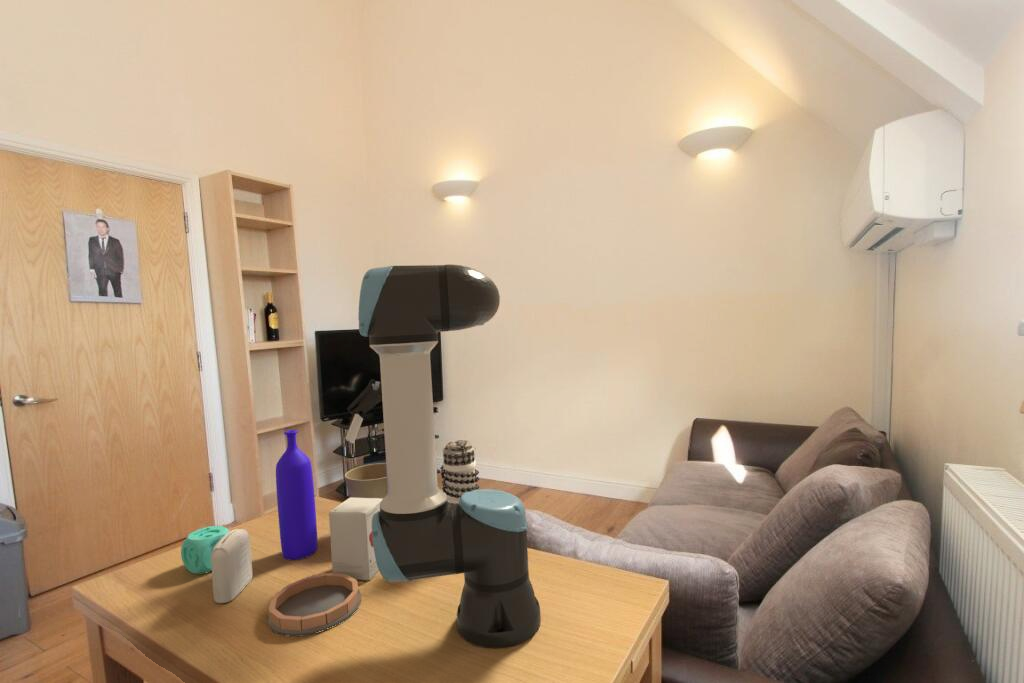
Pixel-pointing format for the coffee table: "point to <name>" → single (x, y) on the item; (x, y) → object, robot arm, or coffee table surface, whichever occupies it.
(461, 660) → the coffee table surface
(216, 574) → the photo printer
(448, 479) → the decorative candle
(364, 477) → the plant pot
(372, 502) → the supplement box
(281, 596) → the ringed saucer
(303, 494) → the bottle
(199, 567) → the mint green rounded piece
